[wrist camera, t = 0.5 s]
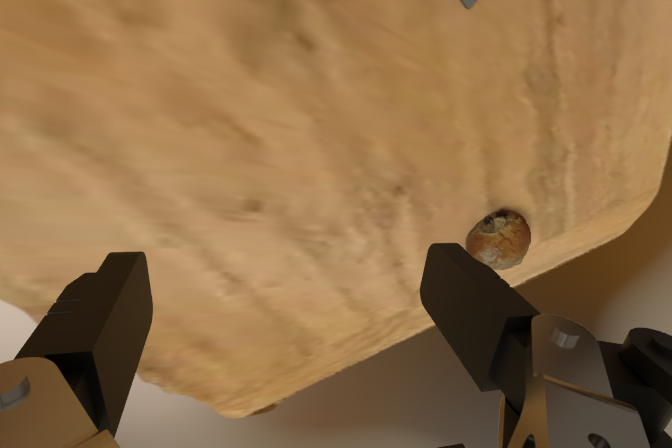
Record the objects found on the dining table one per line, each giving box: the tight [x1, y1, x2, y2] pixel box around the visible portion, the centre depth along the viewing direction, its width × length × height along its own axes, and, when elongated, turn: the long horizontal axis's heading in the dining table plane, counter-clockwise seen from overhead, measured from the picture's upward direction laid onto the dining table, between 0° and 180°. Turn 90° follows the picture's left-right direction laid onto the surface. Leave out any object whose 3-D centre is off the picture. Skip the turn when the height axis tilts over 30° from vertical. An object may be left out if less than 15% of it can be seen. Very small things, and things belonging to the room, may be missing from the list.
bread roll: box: [466, 210, 531, 270], centre depth 59 cm, size 10×10×8 cm
